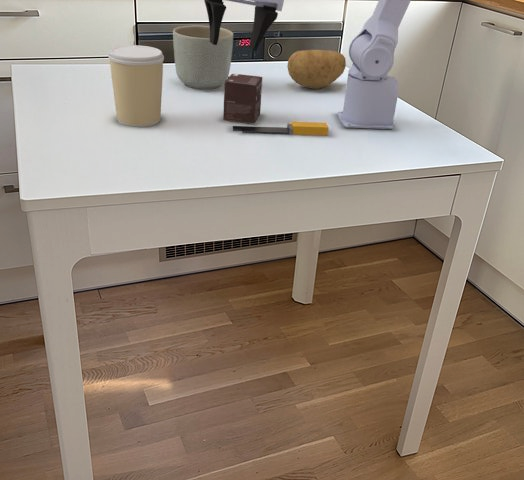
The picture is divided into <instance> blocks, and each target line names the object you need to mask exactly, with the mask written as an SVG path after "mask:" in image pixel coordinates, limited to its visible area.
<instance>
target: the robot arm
mask: <svg viewBox="0 0 524 480" xmlns="http://www.w3.org/2000/svg"><path fill="white" fill-rule="evenodd" d="M203 1H204V4H205V9H206V13H207V18H208V26H209V27H210V42H211V43H212V44H213V45H217V43H218V39H219V32H220V28H221V26H222V23H223V18H224V15H225V12H226V10H227V6H226V5H225V4H224V3H225V2H224V1H223V0H203ZM226 1H227V2H231V3H239V4H242V5H248V6H254V17H253V25H252V31H251V35H250V38H249V39H250V40H249V46H248V47H249V49H250V50H251V51H253V52H257V51H258V48H259V47H260V44H261V42H262V40H263V38H264V36H265V34H266V33H267V31H268V30H269V29H270V27H271V26H272V25H273V24H274V22H276V20H277V19H278V16H279V13H278V12H282V11H283V7H284V2H285V0H226ZM411 2H412V0H378V1H377V4H376V6H375V8H374V10H373V12H372V15H371V16H370V17H369V18H368V19H367V20H366V21H365V23H364V24H363V26H362V29H361V30H360V32H359V33H357V35H356V36H355V37H353V39H352V40H351V42H350V44H349V47H348V57H349V59H350V61H351V62H352V64H351V66H350V68H349V69H348V73H347V78H346V79H347V81H346V87H345V95H344V102H343V108H342V111H337V112H336V116H337V117H338V119H339V120H340V122H341V124H342V125H343V127H344V128H348V129H349V128H352V129H377V130H379V129H382V130H393V129H394V125H393V124H394V119H395V113H396V108H397V103H398V97H399V81H398V78H397V77H396V76H390V75H389V73H390V71H391V70H392V68H393V66H394V62H395V50H396V48H397V45H398V42H399V28H400V26H401V23H402V21H403V18H404V16H405V15H406V13H407V10H408V8H409V6H410V3H411Z"/></svg>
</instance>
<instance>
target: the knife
mask: <svg viewBox="0 0 524 480" xmlns="http://www.w3.org/2000/svg"><path fill="white" fill-rule="evenodd" d="M329 129H330V128H329V126H328V123H327V122H321V121H320V122H318V121H317V122H316V121H291V122H290V123H287V127H284V126H283V127H280V126H279V127H277V126H249V125H248V126H247V125H232V132H241V133H242V134H257V135H258V134H259V135H288V136H290V135H294V136H295V135H296V136H297V135H298V136H322V137H323V136H324V137H325V136H326V137H328V136H329V135H328V134H329Z"/></svg>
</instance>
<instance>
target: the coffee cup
mask: <svg viewBox="0 0 524 480" xmlns="http://www.w3.org/2000/svg"><path fill="white" fill-rule="evenodd" d="M108 59H109V64H110V65H109V67H110V74H111V82H112V91H113V98H114V106H115V114H116V120H117V122H118V123H119V124H121V125H124V126H129V127H138V128H142V127H143V128H145V127H150V126H154V125H157V124H159V122H160V121H161V115H162V114H161V113H162V97H163V95H162V94H163V74H164V60H165V56H164V54H163V51H162V50H161V49H159V48H156V47H153V46H148V45H137V44H130V45H129V44H128V45H119V46H115V47H112V48H111V49H110V50H109V53H108Z"/></svg>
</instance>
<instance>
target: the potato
mask: <svg viewBox="0 0 524 480" xmlns="http://www.w3.org/2000/svg"><path fill="white" fill-rule="evenodd" d="M346 68H347V62H346V57H345V55H344V54H343V53H341V52H339V51H336V50H324V49H306V50H305V49H304V50H297V51H295V52H293V53H292V54H291V55H290V56H289V58H288V60H287V71H288V75H289V77H290V78H291V79H292V81H294V82H295V83H296V84H298V85H300V86H302V87H305V88H309V89H315V90H316V89H318V90H319V89H323V88H327V87H328V86H330V85H331V84H333V83H334V82H336V81H337V80H338V79H339V78H340V77H341V76H342V75H343V74H344V72H345V70H346Z"/></svg>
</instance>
